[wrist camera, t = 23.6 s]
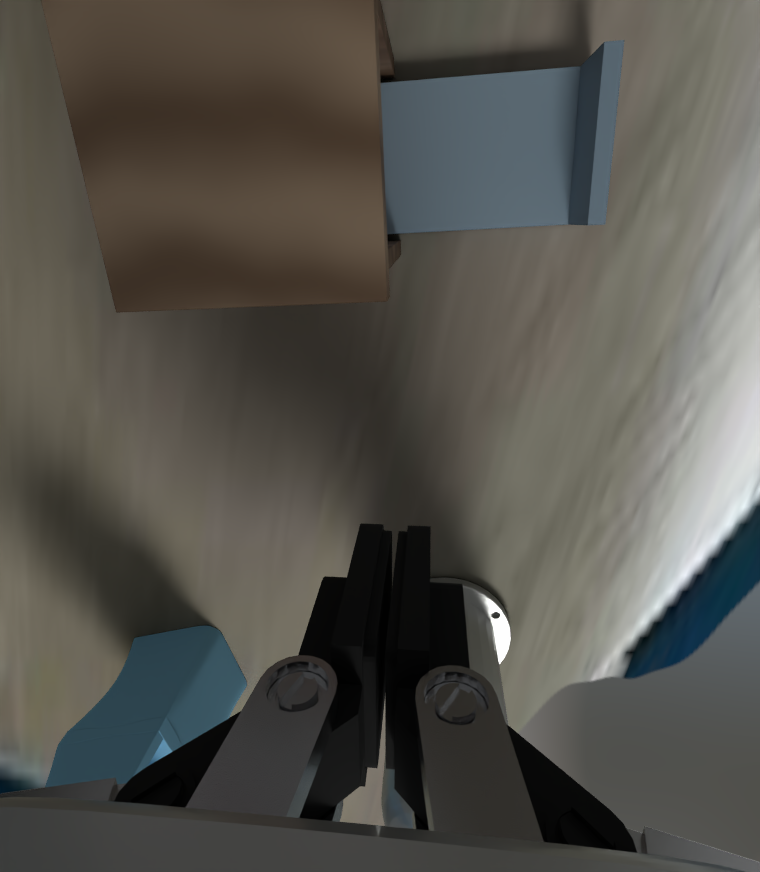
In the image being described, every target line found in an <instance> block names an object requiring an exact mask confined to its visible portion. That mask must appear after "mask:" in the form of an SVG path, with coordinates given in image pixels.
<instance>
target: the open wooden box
mask: <svg viewBox="0 0 760 872" xmlns="http://www.w3.org/2000/svg"><path fill="white" fill-rule="evenodd" d="M41 2H42V6H43V11H44V15H45V19H46V23H47V27H48V31H49V35H50V40H51V44H52V48H53V52H54V56H55V60H56V64H57V69H58V73H59V77H60V81H61V85H62V89H63V94H64V98H65V102H66V106H67V110H68V114H69V118H70V123H71V127H72V131H73V135H74V139H75V143H76V147H77V152H78V156H79V160H80V164H81V168H82V172H83V176H84V181H85V185H86V189H87V193H88V197H89V201H90V206H91V210H92V214H93V218H94V222H95V226H96V230H97V235H98V239H99V243H100V247H101V251H102V255H103V259H104V264H105V268H106V272H107V276H108V280H109V284H110V288H111V293H112V297H113V301H114V305H115V309H116V312H139V311H164V310H188V309H213V308H238V307H263V306H287V305H312V304H337V303H362V302H386V301H388V299H389V297H390V287H389V268H390V267H391V266H392V265H393V264H394V262H395V261H396V260H397V259H398V258H399V257H400V255H401V241H400V240H397V241H387V218H386V196H385V173H384V150H383V127H382V105H381V82H380V79H390V78H395V70H394V57H393V53H392V49H391V45H390V40H389V36H388V32H387V28H386V24H385V19H384V15H383V11H382V7H381V3H380V0H41Z"/></svg>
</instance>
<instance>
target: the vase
mask: <svg viewBox="0 0 760 872" xmlns="http://www.w3.org/2000/svg"><path fill="white" fill-rule="evenodd" d="M246 686H247V682H246V680H245V677H244V675H243V673H242V671H241V669H240V667H239V666H238V664H237V662H236V660H235V658H234V656H233V654H232V652H231V650H230V648H229V646H228V644H227V642H226V640H225V639H224V637H223V635H222V633H221V632H220V631H219V630H218V629H216V628H214V627H211V626H195V627H190V628H184V629H179V630H173V631H168V632H163V633H157V634H152V635H147V636H141V637H136V638H134V640H133V643H132V646H131V649H130V652H129V655H128V658H127V660H126V663H125V665H124V667H123V669H122V671H121V673H120V675H119V676H118V678H117V680H116V681H115V683H114V684H113V686H112V687H111V688H110V689H109V691H108V692H107V693H106V695H105V696H104V697H103V698H102V699H101V700H100V701H99V702H98V703H97V704H96V705H95V707H93V708H92V709H91V710H90V711H89V712H88V713H87V714H86V715H85V716H84V717H83V718H82V719H81V720H80V721H79V722H78V723H77V724H76V725H75V726H74V727H72V728H71V729H70V730H69V731H68V732H67V733H66V735H65V736H64V737H63V739H62V740H61V742H60V743H59V744H58V747H57V750H56V754H55V757H54V761H53V764H52V768H51V771H50V774H49V777H48V780H47V783H46V786H45V787H52V786H59V785H66V784H73V783H80V782H87V781H94V780H102V779H109V778H116V781H117V784H124V783H127V782H128V781H129V780H130V779H131V778H132V777H133V776H135V775H136V774H137V773H139V772H140V771H141V770H143V769H144V768H146V767H147V766H149V765H151V764H152V763H154V762H156V761H158V760H159V759H161V758H163V757H164V756H166V755H168V754H169V753H171V752H173V751H174V750H176V749H178V748H180V747H181V746H183V745H185V744H186V743H188V742H190V741H191V740H193V739H195V738H196V737H198V736H200V735H202V734H203V733H205V732H207V731H208V730H210V729H212V728H213V727H215V726H217V725H218V724H220V723H222V722H224V721H225V720H227V719H229V717H230V715H231V712H232V710H233V708H234V707H235V705H236V703H237V701H238V699H239V698H240V696H241V695H242V693H243V691H244V690H245V688H246Z"/></svg>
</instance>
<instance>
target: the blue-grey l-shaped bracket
mask: <svg viewBox="0 0 760 872" xmlns="http://www.w3.org/2000/svg"><path fill="white" fill-rule="evenodd" d="M623 47H624V40H620V41H609V42H604V43H603V44H602V45H601V46H600V47H599V48H598V49H597V50H596V51H595V52H594V53H593V54H592V55H591V56H590V57H589V58H588V59H587V60H586V61H585V62H584V63H583V64H582V65H581V66H577V67H565V68H554V69H542V70H530V71H518V72H506V73H494V74H482V75H471V76H459V77H447V78H435V79H423V80H411V81H400V82H388V83H381V105H382V127H383V150H384V173H385V196H386V218H387V234H399V233H418V232H436V231H455V230H474V229H492V228H511V227H529V226H548V225H566V224H571V225H602V224H605V221H606V211H607V202H608V192H609V182H610V173H611V163H612V154H613V144H614V134H615V125H616V115H617V105H618V96H619V86H620V76H621V67H622V57H623Z"/></svg>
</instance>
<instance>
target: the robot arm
mask: <svg viewBox="0 0 760 872" xmlns="http://www.w3.org/2000/svg"><path fill="white" fill-rule="evenodd" d="M510 642H511V628H510V623H509V619H508V616H507V614H506V611H505V609H504V607H503V606H502V605H501V603H500V602H499V601H498V599H497V598H495V597H494V596H493V595H492V594H491V593H490V592H489V591H487V590H485V589H484V588H482V587H480V586H478V585H476V584H473V583H471V582H468V581H465V580H460V579H456V578H442V577H440V578H430V527H428V526H408V530H407V532H404V531H399V533H398V542H397V551H396V560H395V568H394V577H393V586H392V531H384V526H383V525H382V524H360V527H359V531H358V535H357V539H356V543H355V547H354V551H353V555H352V559H351V563H350V568H349V572H348V576H347V578H344V577H324V578H323V580H322V582H321V586H320V589H319V592H318V595H317V598H316V601H315V604H314V608H313V611H312V614H311V617H310V620H309V623H308V626H307V630H306V633H305V636H304V639H303V642H302V645H301V648H300V652H299V655H298V656H293V657H288V658H285V659H283V660H281V661H278V662H277V663H275V664H274V665H272V666H271V667H270V668H268V669H267V671H266V672H265V673H264V674H263V676H262V677H261V678H260V680H259V682H258V683H257V685H256V687H255V688H254V690H253V692H252V694H251V695H250V697H249V699H248V701H247V702H246V704H245V706H244V707H243V709H242V711H241V712H239V713H237V714H235V715H234V716H232V717H230V718H229V719H227V720H225V721H224V722H222V723H220V724H218V725H217V726H215V727H213V728H212V729H210V730H208V731H207V732H205V733H203V734H202V735H200V736H198V737H196V738H195V739H193V740H191V741H190V742H188V743H186V744H185V745H183V746H181V747H180V748H178V749H176V750H174V751H173V752H171V753H169V754H168V755H166V756H164V757H163V758H161V759H159V760H158V761H156V762H154V763H152V764H151V765H149V766H147V767H146V768H144V769H143V770H141V771H140V772H139V773H137V774H136V775H135V776H133V777H132V778H131V779H130V780H129V781H128V782H127V783H124V784H117V781H116V778H109V779H102V780H94V781H87V782H80V783H73V784H66V785H59V786H52V787H45V788H38V789H31V790H23V791H16V792H9V793H2V794H0V872H760V862H757V861H754V860H751V859H748V858H744V857H741V856H738V855H735V854H731V853H728V852H725V851H722V850H719V849H716V848H712V847H709V846H706V845H703V844H700V843H697V842H694V841H690V840H687V839H684V838H681V837H677V836H675V835H671V834H668V833H665V832H662V831H659V830H655V829H652V828H649V827H646V826H644V829H643V833H640V832H637V831H634V830H631V829H628V828H625V826H624V824H623V823H622V822H621V821H620V820H619V819H618V818H617V817H616V815H614V813H613V812H612V811H611V810H609V809H608V808H607V807H606V806H605V805H604V804H602V803H601V802H600V801H598V800H597V799H596V798H595V797H594V796H593V795H591V794H590V793H589V792H588V791H586V790H585V789H584V788H583V787H582V786H581V785H579V784H578V783H577V782H576V781H574V780H573V779H572V778H571V777H569V776H568V775H567V774H566V773H565V772H564V771H563V770H561V769H560V768H559V767H558V766H556V765H555V764H554V763H553V762H552V761H550V760H549V759H548V758H547V757H545V756H544V755H543V754H542V753H541V752H539V751H538V750H537V749H536V748H535V747H534V746H532V745H531V744H530V743H529V742H527V741H526V740H525V739H524V738H523V737H521V736H520V735H519V734H518V733H517V732H515V731H514V730H513V729H512V728H511V727H509V726H508V720H507V713H506V706H505V700H504V693H503V686H502V680H501V673H500V667H499V664H500V663H501V662H502V660H503V659H504V658H505V656H506V654H507V652H508V650H509V647H510ZM385 695H386V753H385V764H384V776H383V784H382V813H383V820H384V824H385V826H378V825H367V824H357V823H347V822H340V818H341V815H342V808H343V799H344V798H346V797H347V796H348V795H349V794H351V793H352V792H353V791H354V790H356V789H357V788H358V787H359V786H365V782H366V774H367V767H370V768H377V766H378V759H379V749H380V739H381V730H382V720H383V710H384V701H385Z"/></svg>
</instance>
